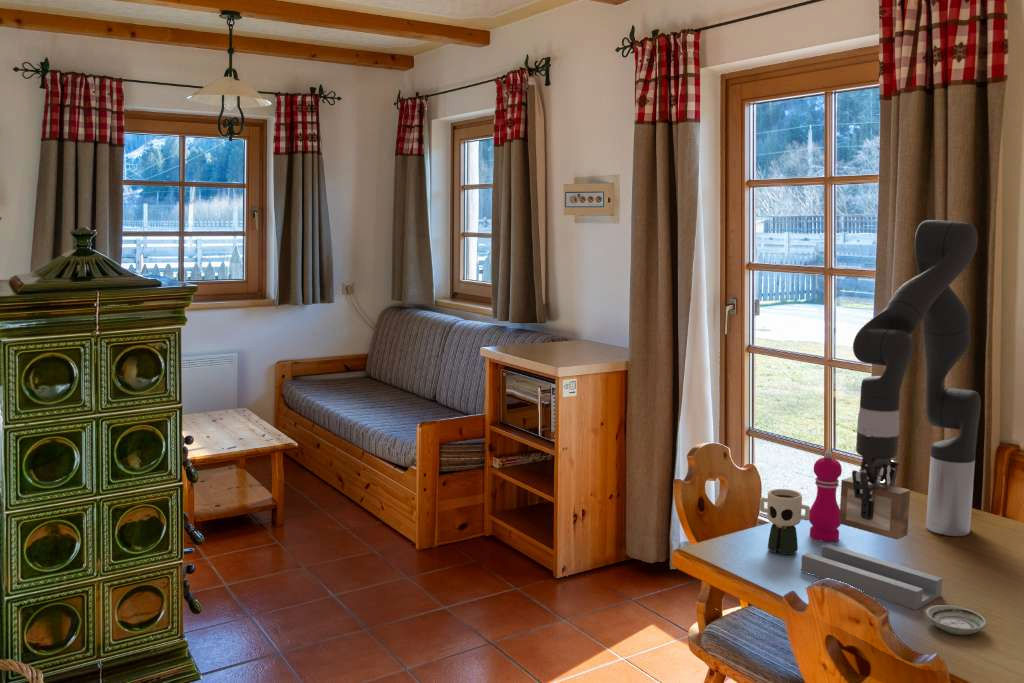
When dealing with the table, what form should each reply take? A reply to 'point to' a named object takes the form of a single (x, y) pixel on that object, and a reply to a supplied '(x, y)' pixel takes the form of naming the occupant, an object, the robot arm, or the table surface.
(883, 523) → the wooden framed block
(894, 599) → the picture ledge
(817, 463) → the pepper mill
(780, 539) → the character mug
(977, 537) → the table surface
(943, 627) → the saucer
